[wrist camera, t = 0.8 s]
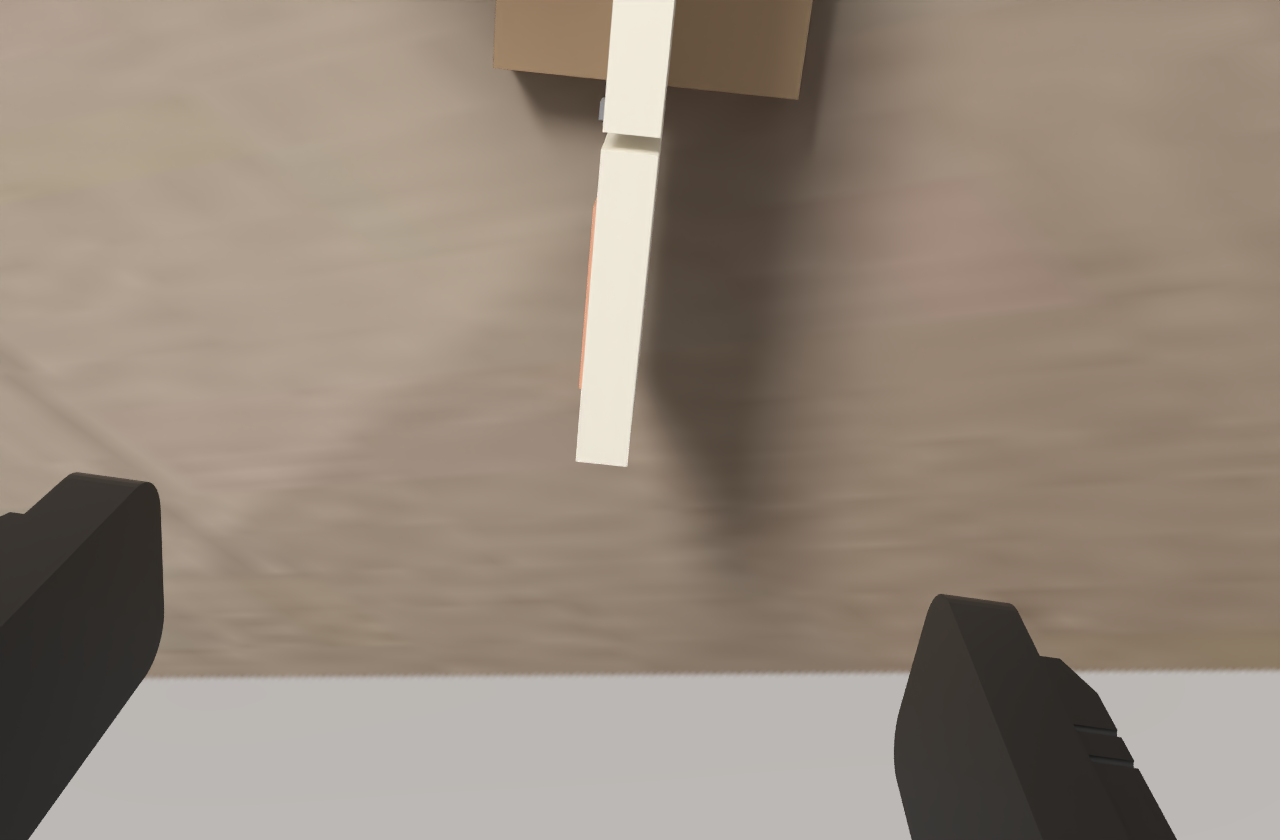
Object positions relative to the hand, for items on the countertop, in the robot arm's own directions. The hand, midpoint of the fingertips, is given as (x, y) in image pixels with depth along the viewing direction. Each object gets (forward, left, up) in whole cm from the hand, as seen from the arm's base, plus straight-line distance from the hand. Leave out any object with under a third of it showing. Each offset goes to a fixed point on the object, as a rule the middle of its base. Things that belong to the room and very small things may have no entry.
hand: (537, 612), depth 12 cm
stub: (0, 0, -17) cm, 17 cm away
